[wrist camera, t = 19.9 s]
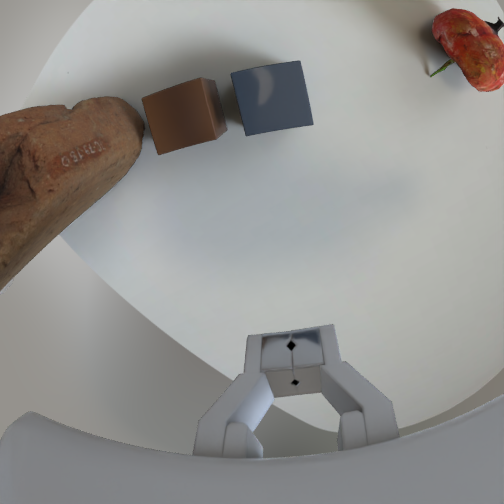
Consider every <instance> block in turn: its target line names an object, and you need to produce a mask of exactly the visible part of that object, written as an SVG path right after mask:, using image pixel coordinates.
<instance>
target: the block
mask: <svg viewBox="0 0 504 504" xmlns="http://www.w3.org/2000/svg"><path fill="white" fill-rule="evenodd" d="M144 130H145V126H144V121H143V120H142V119H141V117H140V115H139V114H138V112H137V111H136V110H135V109H134V108H133V107H132V106H130V105H129V104H128V103H127V102H126V101H124V100H123V99H121V98H118V97H98V98H91V99H88V100H83V101H80V102H79V103H77V104H76V105H75V106H74V107H73V108H72V110H70V109H66V108H65V105H48V106H37V107H31V108H27V109H23V110H19V111H16V112H12V113H8V114H5V115H2V116H0V291H1V290H2V289H3V288H4V287H5V286H6V285H7V284H8V283H9V282H10V281H11V280H12V279H13V278H14V277H15V275H17V274H18V273H19V272H20V271H21V269H23V268H24V266H26V265H27V264H28V263H29V261H31V260H32V259H33V258H34V257H35V256H36V255H37V254H38V253H39V252H40V251H41V250H42V249H43V248H44V247H45V246H46V245H47V244H48V243H50V242H51V241H52V240H53V239H54V238H55V237H56V236H57V235H58V234H60V233H61V232H62V231H63V230H64V229H65V228H66V227H67V226H68V225H70V224H71V223H72V222H73V221H74V220H75V219H76V218H78V217H79V216H80V215H81V214H82V213H83V212H85V211H86V210H87V209H88V208H89V207H91V206H92V205H93V204H94V203H95V202H96V201H97V200H99V199H100V198H101V197H102V196H103V195H105V194H106V193H107V192H108V191H109V190H110V189H111V188H112V187H113V186H114V185H115V184H116V183H117V182H118V181H120V180H121V179H122V178H123V177H124V176H125V175H126V174H127V172H128V171H129V169H130V167H131V166H132V165H133V164H134V162H135V161H136V159H137V158H138V156H139V154H140V152H141V149H142V138H143V136H144Z"/></svg>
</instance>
